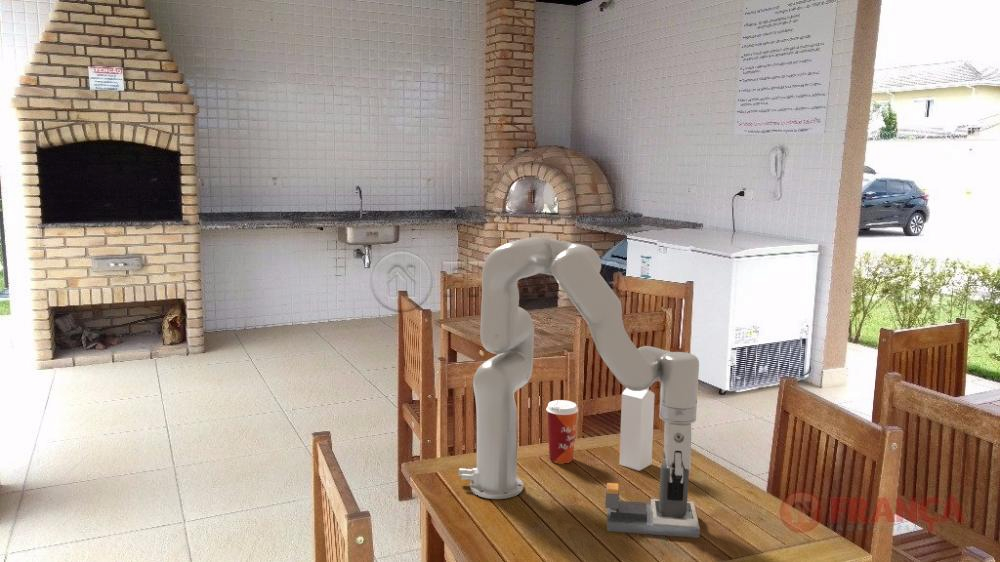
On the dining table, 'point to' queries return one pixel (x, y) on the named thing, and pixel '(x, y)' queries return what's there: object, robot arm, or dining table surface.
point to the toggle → (612, 496)
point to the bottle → (666, 506)
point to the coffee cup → (561, 430)
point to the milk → (636, 428)
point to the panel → (652, 520)
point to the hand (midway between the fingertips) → (673, 492)
